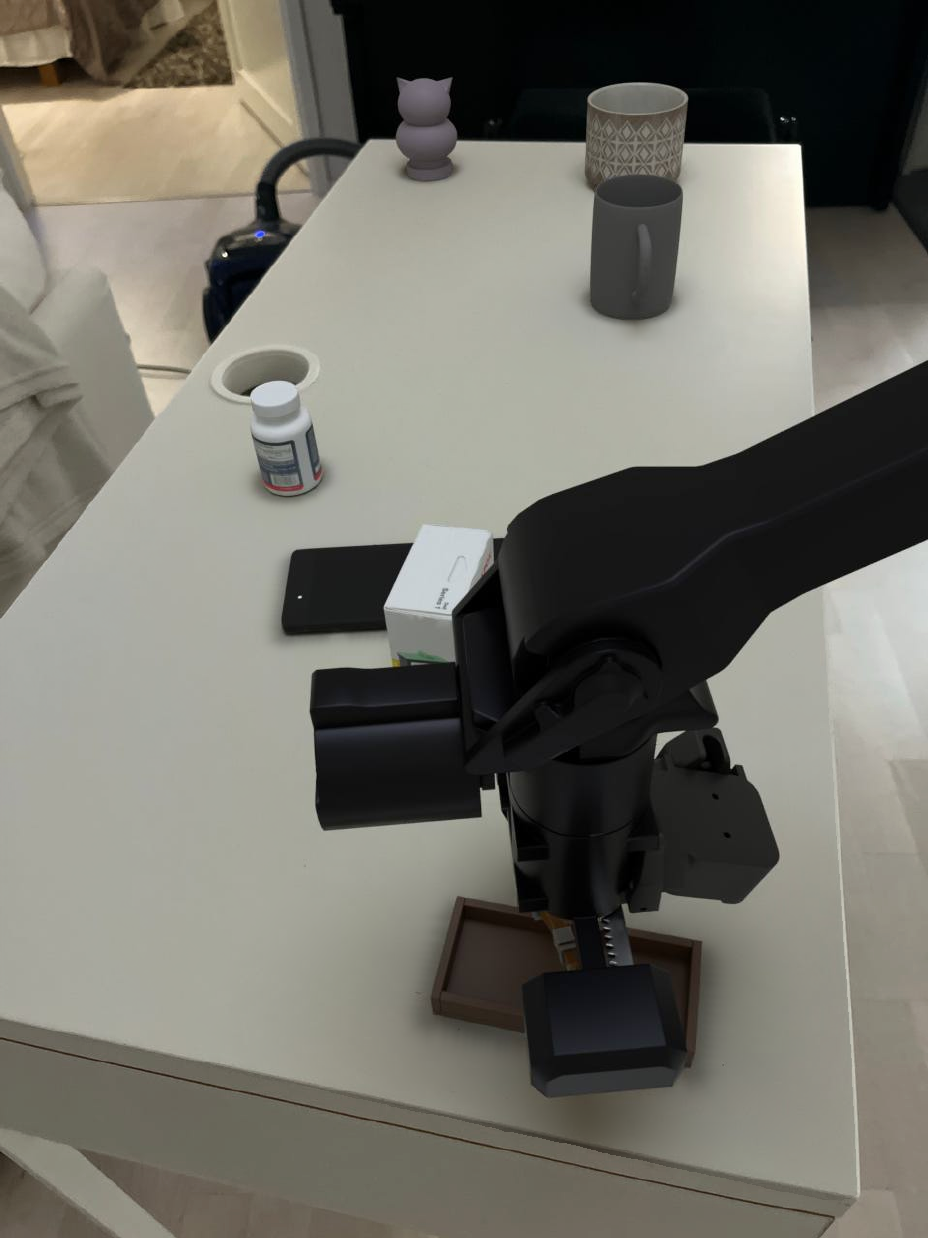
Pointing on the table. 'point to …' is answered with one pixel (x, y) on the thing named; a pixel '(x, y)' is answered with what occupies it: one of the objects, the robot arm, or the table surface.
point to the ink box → (434, 592)
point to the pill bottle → (284, 439)
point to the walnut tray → (539, 965)
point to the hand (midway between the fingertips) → (570, 959)
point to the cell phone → (343, 586)
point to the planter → (635, 131)
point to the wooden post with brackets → (561, 939)
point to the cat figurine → (426, 128)
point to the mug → (635, 245)
